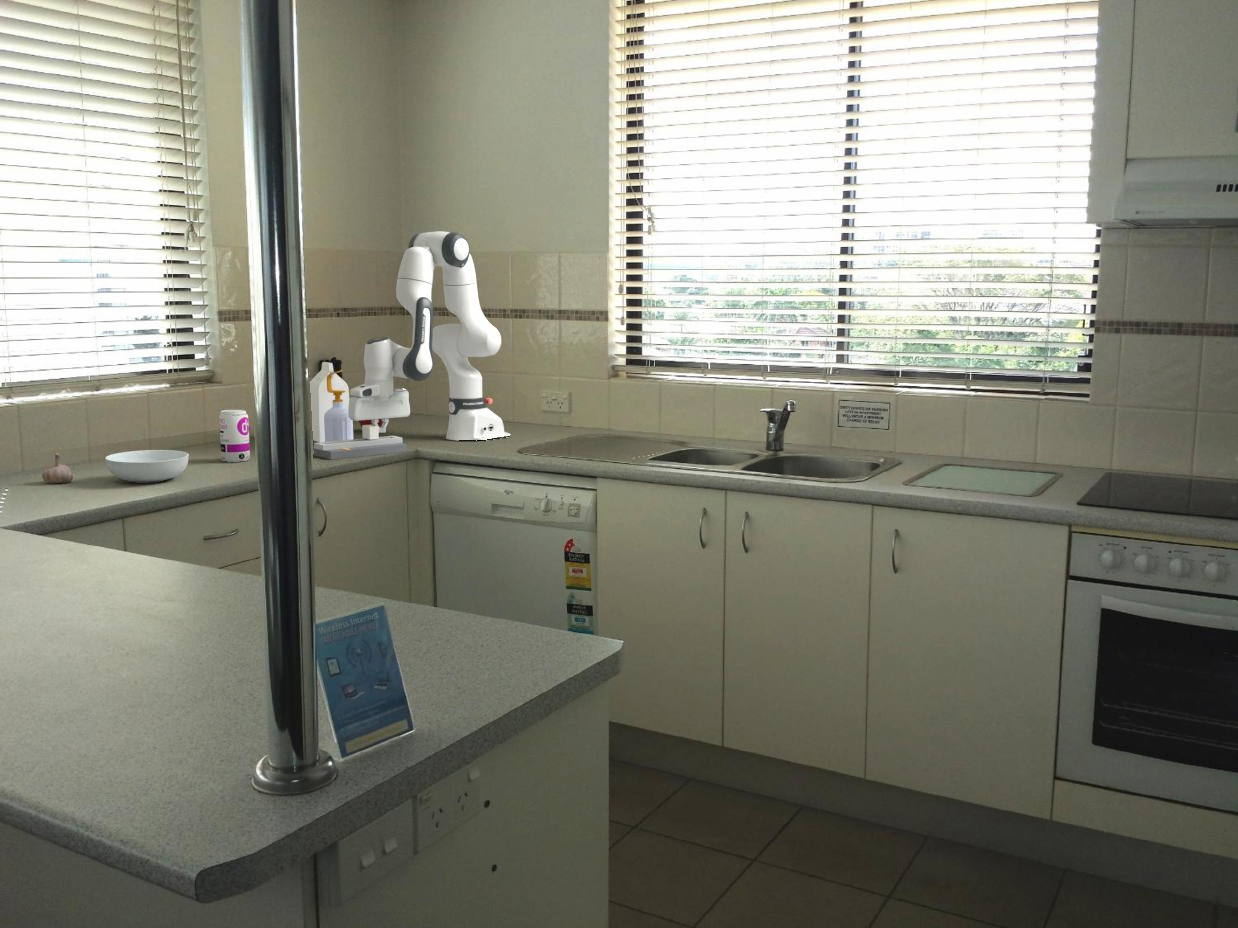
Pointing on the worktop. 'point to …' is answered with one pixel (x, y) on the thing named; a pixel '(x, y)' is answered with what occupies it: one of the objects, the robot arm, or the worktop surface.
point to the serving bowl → (147, 465)
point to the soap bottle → (337, 417)
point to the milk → (325, 398)
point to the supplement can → (234, 435)
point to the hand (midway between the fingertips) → (380, 432)
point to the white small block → (370, 432)
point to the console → (359, 447)
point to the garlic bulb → (57, 473)
